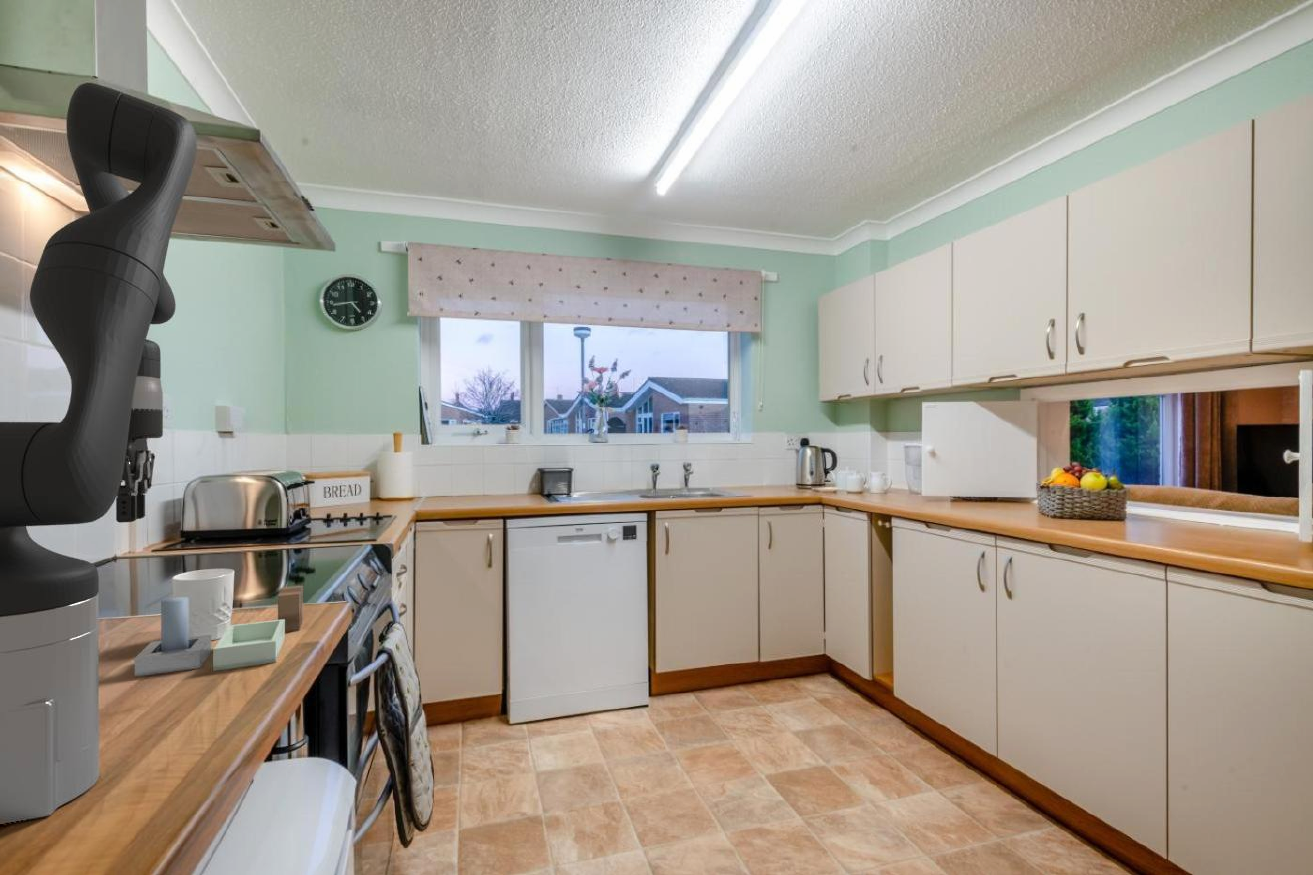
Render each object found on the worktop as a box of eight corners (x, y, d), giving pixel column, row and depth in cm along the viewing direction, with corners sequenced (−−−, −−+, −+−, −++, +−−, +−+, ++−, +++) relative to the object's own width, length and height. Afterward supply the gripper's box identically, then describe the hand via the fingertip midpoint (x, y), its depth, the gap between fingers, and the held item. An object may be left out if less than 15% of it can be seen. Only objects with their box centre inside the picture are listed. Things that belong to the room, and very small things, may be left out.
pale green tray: (275, 662, 85) (275, 641, 85) (213, 671, 81) (213, 649, 81) (284, 638, 95) (284, 619, 95) (229, 645, 91) (229, 625, 91)
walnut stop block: (299, 630, 98) (299, 593, 98) (277, 632, 97) (277, 595, 97) (302, 620, 104) (302, 585, 104) (282, 622, 102) (282, 587, 102)
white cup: (201, 647, 91) (201, 581, 91) (158, 643, 92) (158, 578, 92) (246, 630, 98) (246, 569, 98) (206, 627, 100) (206, 567, 100)
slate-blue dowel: (185, 665, 83) (185, 601, 83) (158, 669, 82) (158, 603, 82) (191, 658, 86) (191, 595, 86) (164, 661, 85) (164, 598, 85)
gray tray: (199, 668, 82) (199, 649, 82) (134, 677, 79) (134, 658, 79) (211, 651, 89) (211, 634, 89) (151, 659, 86) (151, 641, 86)
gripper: (147, 405, 86) (147, 525, 87) (174, 409, 99) (175, 513, 99) (78, 404, 83) (78, 528, 83) (116, 408, 96) (116, 516, 96)
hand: (131, 519), depth 91 cm, fingers open, 3 cm apart
